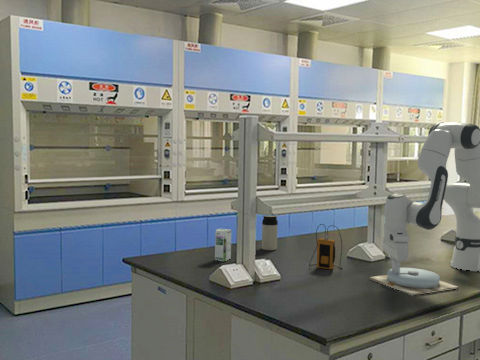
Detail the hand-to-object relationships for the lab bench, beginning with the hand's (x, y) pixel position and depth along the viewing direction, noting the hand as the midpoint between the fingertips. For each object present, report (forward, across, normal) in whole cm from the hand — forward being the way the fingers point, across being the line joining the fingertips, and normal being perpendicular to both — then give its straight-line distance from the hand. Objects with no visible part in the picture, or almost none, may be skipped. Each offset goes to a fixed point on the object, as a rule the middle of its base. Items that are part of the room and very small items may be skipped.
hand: (393, 266), depth 207 cm
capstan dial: (+5, +4, +7) cm, 9 cm away
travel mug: (+6, -58, -46) cm, 74 cm away
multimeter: (+6, -23, -22) cm, 33 cm away
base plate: (+6, +4, +7) cm, 10 cm away
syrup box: (+6, -33, -70) cm, 78 cm away
